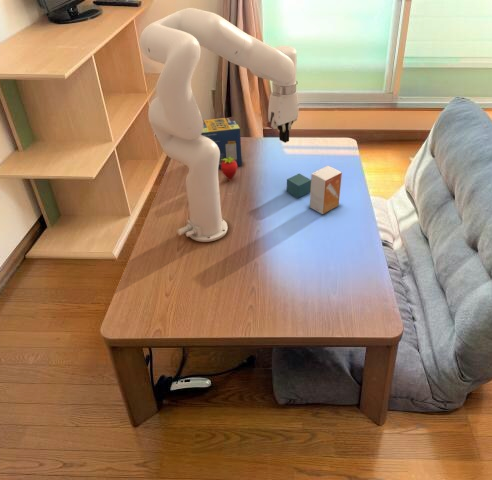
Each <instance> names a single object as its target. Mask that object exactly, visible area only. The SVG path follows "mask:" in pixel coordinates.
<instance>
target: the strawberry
mask: <svg viewBox="0 0 492 480" xmlns="http://www.w3.org/2000/svg"><path fill="white" fill-rule="evenodd" d="M228 157H229V156H228ZM221 160H224V161H223V162H222V163H221V172H222V174H223V175H224V177H226V178H227V179H228V180H229V181H232V180H233V179H234V177H235V175H236V173H237V171H238V166H237V163H236V161H235V159H232V158H231V156H230V157H229V158H228V159H226V158H224V159H221Z"/></svg>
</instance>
